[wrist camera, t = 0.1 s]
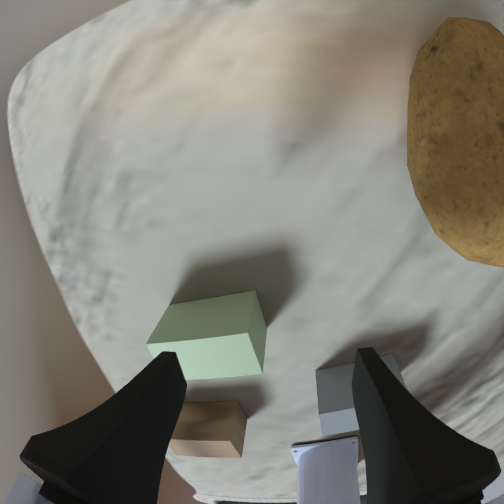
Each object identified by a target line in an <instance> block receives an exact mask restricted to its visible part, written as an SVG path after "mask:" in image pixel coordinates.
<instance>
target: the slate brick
mask: <svg viewBox="0 0 504 504" xmlns="http://www.w3.org/2000/svg"><path fill="white" fill-rule="evenodd" d="M380 358H381V359H382V360H383V362H384V363H385V364H386V365H387V367H388V368H389V369H390V371H391V372H392V373H393V374H394V375H395V377H396V378H397V379H398V380H399V381H400V382H401V384H402V385H403V386H404V387H405V388H406V386H405V383H404V381H403V378H402V375H401V373H400V370H399V367H398V365H397V362H396V359H395V357H394V354H389V355H385V356H381V357H380ZM354 366H355V363H351V364H346V365H341V366H336V367H331V368H325V369H320V370H316V382H317V395H318V409H319V417H320V422H321V428H322V433H323V436H327V435H333V434H339V433H344V432H350V431H355V430H359V426H358V421H357V417H356V413H355V408H354V402H353V394H352V384H351V383H352V377H353V372H354Z"/></svg>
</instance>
